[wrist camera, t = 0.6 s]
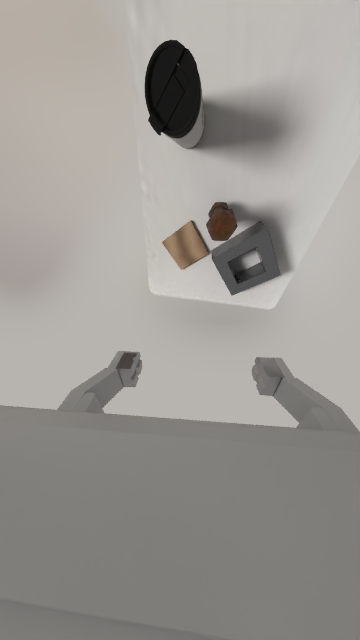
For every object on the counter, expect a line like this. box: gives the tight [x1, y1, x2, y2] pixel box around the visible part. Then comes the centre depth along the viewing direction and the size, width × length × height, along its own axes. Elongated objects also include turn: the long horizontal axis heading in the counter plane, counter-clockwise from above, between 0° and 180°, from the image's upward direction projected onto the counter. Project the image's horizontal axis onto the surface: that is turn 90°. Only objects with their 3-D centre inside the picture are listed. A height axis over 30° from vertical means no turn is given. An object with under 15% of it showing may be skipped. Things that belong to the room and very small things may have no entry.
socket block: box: [211, 221, 281, 295], centre depth 45 cm, size 14×14×6 cm
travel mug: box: [145, 40, 204, 149], centre depth 24 cm, size 6×7×20 cm
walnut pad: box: [162, 221, 208, 270], centre depth 47 cm, size 10×10×1 cm
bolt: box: [206, 202, 237, 241], centre depth 35 cm, size 6×5×15 cm
